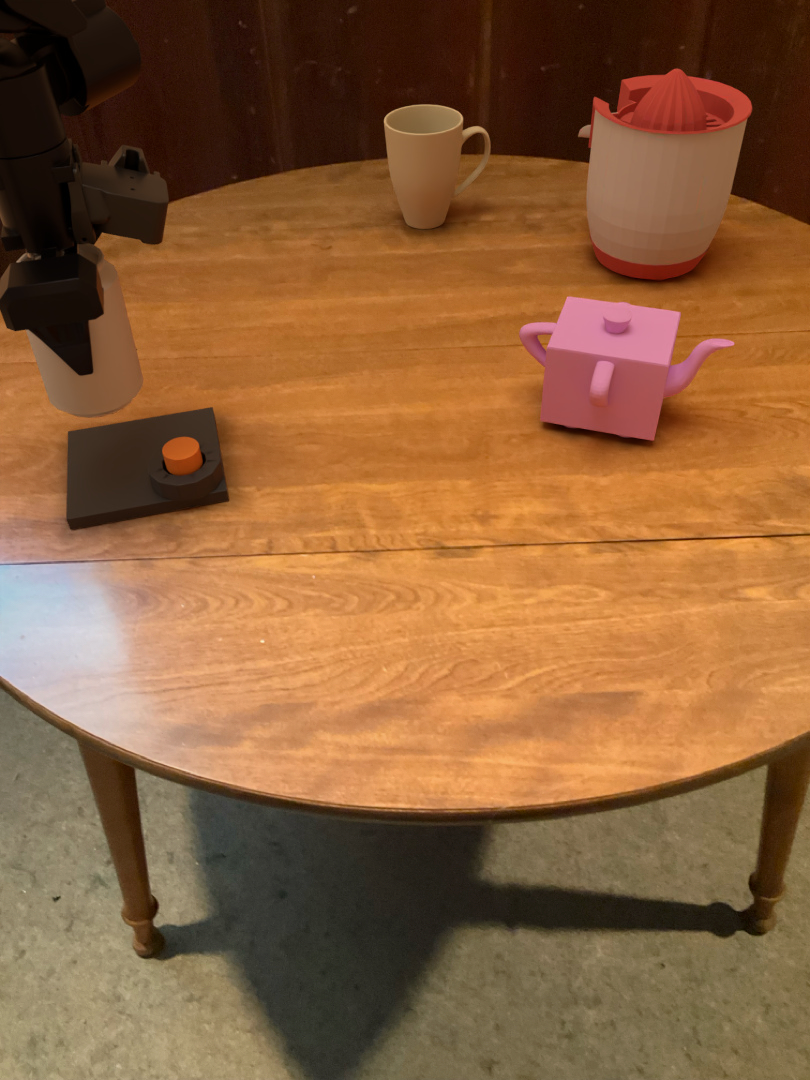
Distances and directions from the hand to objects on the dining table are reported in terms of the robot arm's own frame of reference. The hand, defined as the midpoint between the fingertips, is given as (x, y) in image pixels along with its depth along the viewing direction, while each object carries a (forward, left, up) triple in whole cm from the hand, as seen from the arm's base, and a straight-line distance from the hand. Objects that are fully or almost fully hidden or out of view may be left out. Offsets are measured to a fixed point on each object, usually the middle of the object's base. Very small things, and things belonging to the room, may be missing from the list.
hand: (86, 346), depth 71 cm
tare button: (+5, -4, -10) cm, 12 cm away
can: (0, 0, -5) cm, 5 cm away
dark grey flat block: (+2, 0, -13) cm, 13 cm away
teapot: (+43, -4, -13) cm, 45 cm away
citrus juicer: (+58, +23, -13) cm, 64 cm away
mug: (+38, +39, -13) cm, 56 cm away
